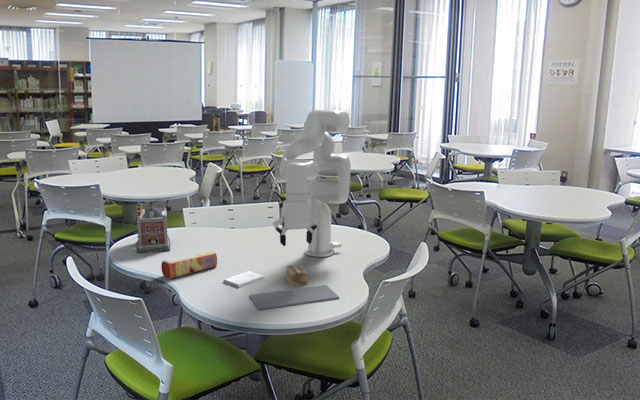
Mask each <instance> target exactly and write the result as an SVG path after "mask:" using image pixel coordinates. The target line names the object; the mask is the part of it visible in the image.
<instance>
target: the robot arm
mask: <svg viewBox="0 0 640 400" xmlns="http://www.w3.org/2000/svg"><path fill="white" fill-rule="evenodd" d="M350 121H351V119H350V114H349V113H348V112H347V110H346V111H345V110H337V109H335V110H334V109H315V110H311V111H310V112H309V113H308V114H307V115H306V119H305V122H304V126H303V128H302V132H301V135H300V137H299V138H296V140H294V141H293V142H292V143H290V144H289V145H288V146H287V147H285V150H284V151H283V154H282V157H281V159H280V163H279V175H280V177H281V178H283V179H285V181H286V182H285V184H286V185H285V200H283V203H282V209H281V218H278V219H277V220H275V221H274V222H272V226H273V227H274V229H275V231H276V232H277V233H279V242H280V244H281V245H282V247H285V246H287V245H286V244H287V243H286V242H287V241H286V240H287V237H286V236H287V235H286V233H287V231H288V230H290V231H291V230H302V229H306V230H307V231H306V236H305V237H306V239H305V241H306V243H308V244H307V245H308V247H306V248H305V249H304V254H306V255H308V256H309V257H315V258H325V257H329V256H333V255H334V254H335V249H337V248H338V249H339V248H342V243H341V242H337V241H335V242H332V211H331V209H330V207H329V206H328V204H339V205H340V204H344V203H346V202H347V201H348V199H349V195H350V194H349V191H350V184H351V182H350V181H351V168H352V165H351V164H352V163H351V159H350V157H349V156H347V155H346V154H336V153H335V145H336V143H335V140H334V139H333V137H332V135H331V134H330V133H345V132H347V131H348V130H349V127H350V124H351V122H350ZM312 152H313V156H312V157H313V159H302V158H300V159H299V158H298V157H300V156H302V155H306V154H309V153H312ZM317 177H324V178H325V177H326V178H337V180H336V179H323V178H321V179H319V178H317ZM308 181H309V182H308ZM279 225H281V226H282V227H280V226H279Z"/></svg>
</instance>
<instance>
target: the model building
mask: <svg viewBox="0 0 640 400" xmlns="http://www.w3.org/2000/svg"><path fill="white" fill-rule="evenodd" d="M136 205H137V210H136V223H137V225H136V226H137V241H136V249H135V250H136V251H135V252H136V253H135V254H137V253H138V254H149V253H148V252H151V253H158V252H161V251H162V252H170V250H171V239H170V237H169V234H168V224H167V223H168V219H167V215H168V214H167V207H165V206H164V207H162V208H158V207H155V206H154V202H153V201H149V207H147V208H145V209H144V208H141V207H142V206H141V202H137V203H136Z"/></svg>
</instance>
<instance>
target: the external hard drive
mask: <svg viewBox="0 0 640 400" xmlns="http://www.w3.org/2000/svg"><path fill="white" fill-rule="evenodd" d="M263 279H265V276H264V274H263V275H262V274H260V273H256V272H253V271H249V270H248V271H245V272H242V273H238V274H236V275H233V276H230V277H228V278H225V279H223V283H225V284H227V285H230V286H233V287H236V288H237V289H239V288H241V287H245V286H247V285H250V284H253V283H256V282H258V281H261V280H263Z"/></svg>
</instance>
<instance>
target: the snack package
mask: <svg viewBox="0 0 640 400" xmlns="http://www.w3.org/2000/svg"><path fill="white" fill-rule="evenodd" d="M217 266H218V256H217V254H216V253H215V251H211V250H206V251H202V252H198V253H194V254H189V255H184V256H181V257H176V258H170V259H164V260H162V261H161V266H160V267H161V271H162V272H161V273H162V275H163V276H164V277H165V278H166V277H167V278H166V279H168V278H169V280H172V279H175V278H179V277H182V276H186V275H189V274H193V273H197V272H200V271H205V270H208V269H213V268H217Z"/></svg>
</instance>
